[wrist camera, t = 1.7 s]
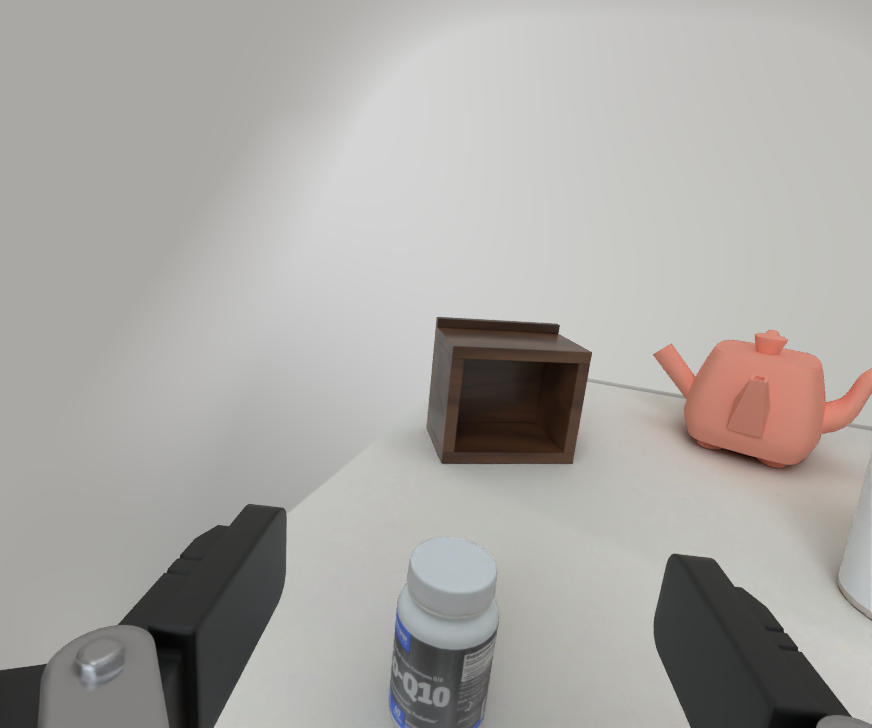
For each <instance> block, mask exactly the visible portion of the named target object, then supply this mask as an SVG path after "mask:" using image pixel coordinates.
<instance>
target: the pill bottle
mask: <svg viewBox="0 0 872 728" xmlns="http://www.w3.org/2000/svg"><path fill="white" fill-rule="evenodd" d="M496 579H497V565H496V562H495V560H494V559H493V557H492V556H491V555H490V554H489V553H488V552H487V551H486V550H485V549H484V548H482V547H481V546H479V545H477V544H475V543H473V542H471V541H468V540H465V539H460V538H456V537H439V538H433V539H429V540H426V541H424V542H422V543H420V544H419V545H418V546H417V547H416V548H415V549H414V550H413V552H412V554H411V557H410V561H409V569H408V575H407V583H406V584H405V586H404V587H403V589H402V590H401V592H400V595H399V598H398V602H397V613H396V624H395V638H394V647H393V658H392V670H391V680H390V690H389V710H390V714H391V718H392V720H393V722H394V724H395V726H396V727H397V728H480V726H481V724H482V721H483V716H484V711H485V704H486V698H487V691H488V685H489V678H490V672H491V665H492V659H493V653H494V646H495V640H496V634H497V628H498V623H499V609H498V605H497V601H496V599H495V597H494V595H495V588H496Z"/></svg>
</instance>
